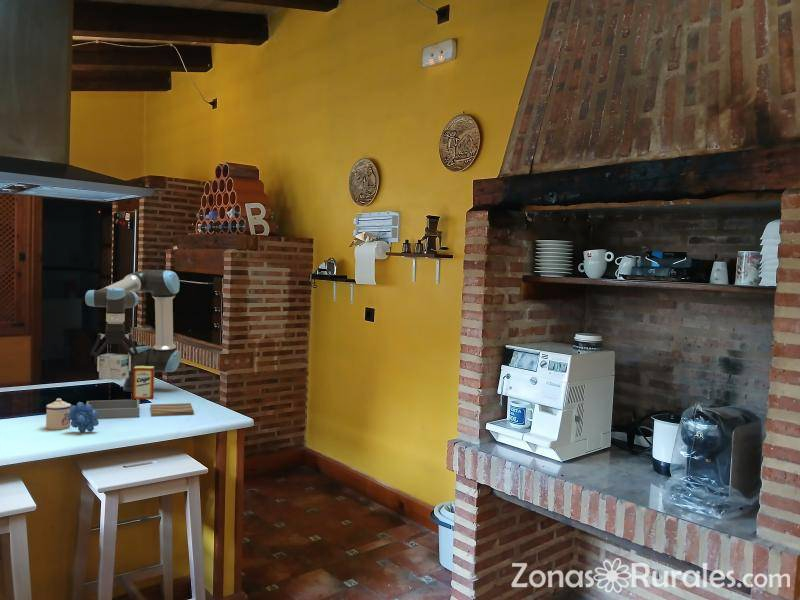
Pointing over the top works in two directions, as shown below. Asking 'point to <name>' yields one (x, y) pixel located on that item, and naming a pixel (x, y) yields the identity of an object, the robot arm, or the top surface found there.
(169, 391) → the top surface
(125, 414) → the grey bin
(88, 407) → the grapes
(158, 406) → the walnut board
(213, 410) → the top surface
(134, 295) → the robot arm
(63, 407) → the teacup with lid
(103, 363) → the light bulb box
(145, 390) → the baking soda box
